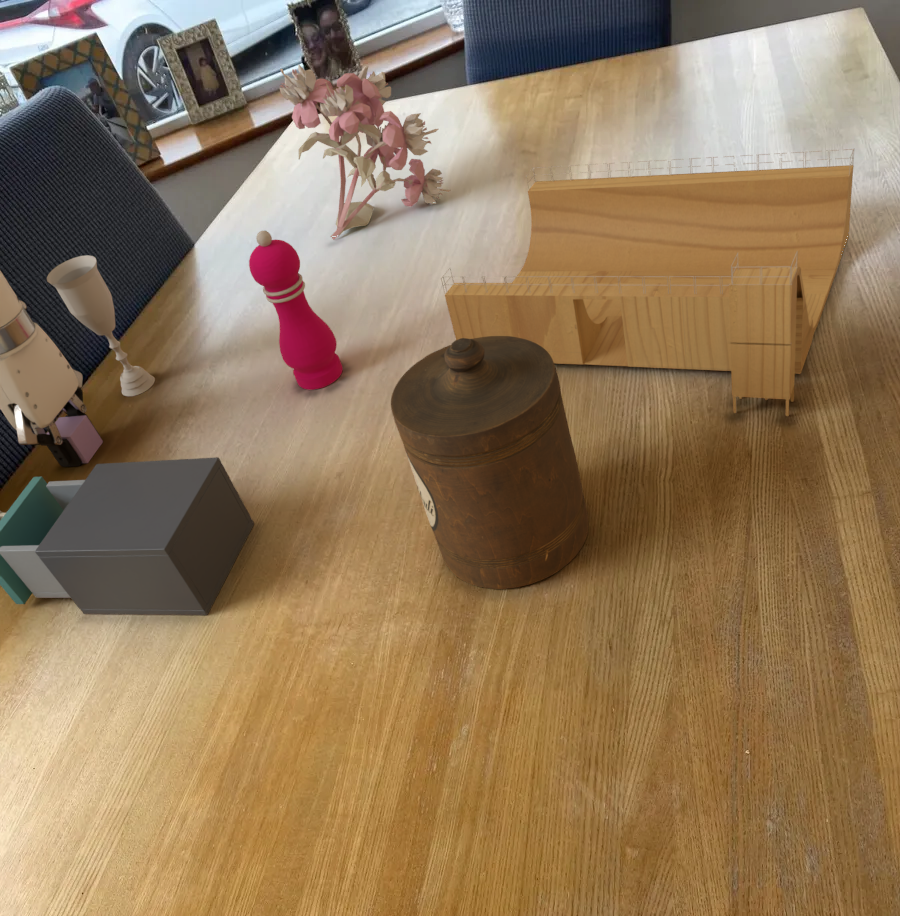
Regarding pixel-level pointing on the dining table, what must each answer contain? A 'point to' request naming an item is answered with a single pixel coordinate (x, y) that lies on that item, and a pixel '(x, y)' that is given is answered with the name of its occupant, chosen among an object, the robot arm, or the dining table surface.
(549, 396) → the wooden container
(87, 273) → the chalice
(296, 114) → the flower
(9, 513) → the drawer
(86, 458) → the pink cube
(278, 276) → the pepper mill
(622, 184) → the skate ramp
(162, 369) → the dining table surface
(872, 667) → the dining table surface
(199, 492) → the cabinet
